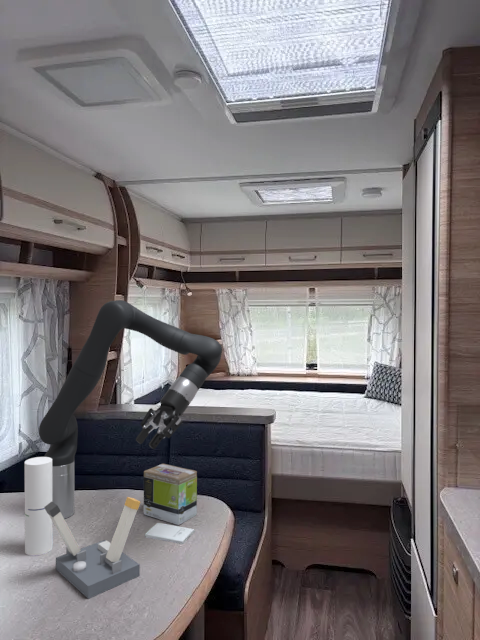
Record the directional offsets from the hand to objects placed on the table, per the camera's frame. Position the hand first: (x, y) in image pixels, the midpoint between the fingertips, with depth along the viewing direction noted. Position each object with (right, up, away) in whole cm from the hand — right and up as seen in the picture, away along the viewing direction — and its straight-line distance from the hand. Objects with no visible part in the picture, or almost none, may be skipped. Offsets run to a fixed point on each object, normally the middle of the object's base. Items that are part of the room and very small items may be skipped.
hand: (144, 444), depth 134 cm
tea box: (+3, -30, +26) cm, 39 cm away
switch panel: (-10, -31, -9) cm, 34 cm away
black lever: (-16, -26, -7) cm, 32 cm away
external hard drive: (+5, -31, +12) cm, 34 cm away
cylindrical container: (-30, -30, +3) cm, 43 cm away
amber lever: (-6, -27, -12) cm, 30 cm away
